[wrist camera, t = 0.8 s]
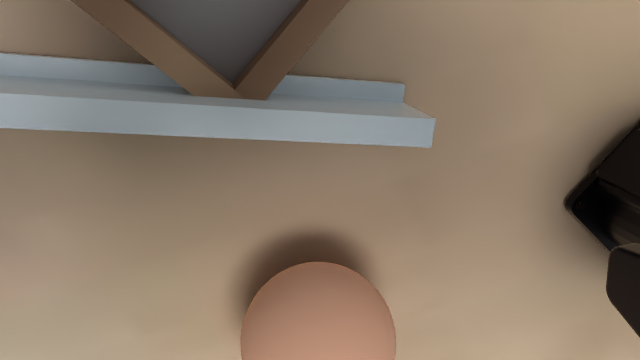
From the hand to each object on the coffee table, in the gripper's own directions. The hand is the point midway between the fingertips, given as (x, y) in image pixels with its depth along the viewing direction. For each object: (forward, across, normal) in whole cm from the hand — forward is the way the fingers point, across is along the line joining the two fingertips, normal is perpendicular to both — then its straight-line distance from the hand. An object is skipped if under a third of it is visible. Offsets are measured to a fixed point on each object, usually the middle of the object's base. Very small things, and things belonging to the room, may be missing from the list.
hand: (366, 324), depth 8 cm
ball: (+13, 0, +8) cm, 15 cm away
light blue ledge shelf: (+12, +3, -2) cm, 13 cm away
